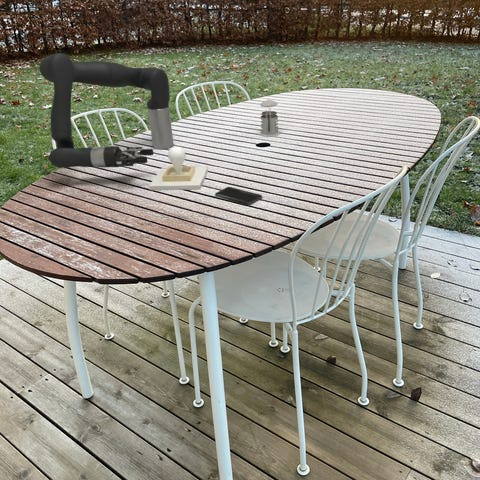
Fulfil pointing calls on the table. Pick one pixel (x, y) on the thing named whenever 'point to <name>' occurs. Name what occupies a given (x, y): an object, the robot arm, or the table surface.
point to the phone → (238, 196)
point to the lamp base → (179, 178)
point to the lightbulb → (177, 159)
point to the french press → (269, 118)
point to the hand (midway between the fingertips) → (150, 155)
